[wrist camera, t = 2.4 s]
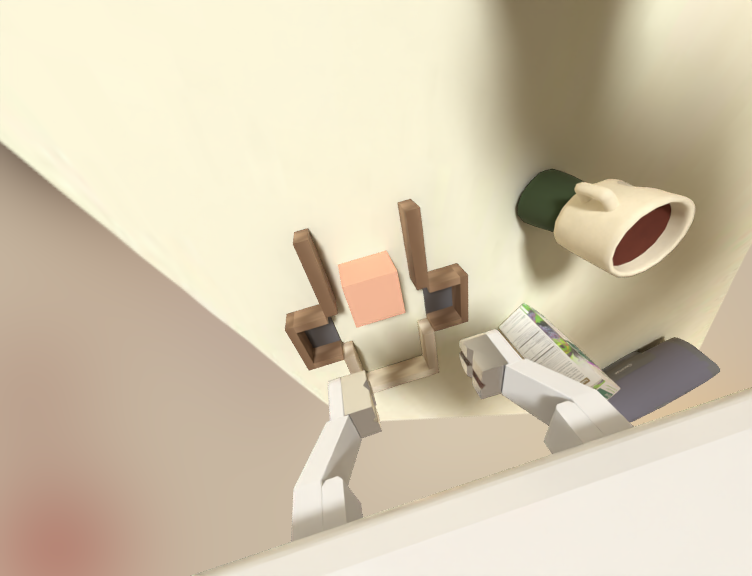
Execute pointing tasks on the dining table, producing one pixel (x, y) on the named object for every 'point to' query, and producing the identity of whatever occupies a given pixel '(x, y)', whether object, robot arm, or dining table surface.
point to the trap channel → (443, 310)
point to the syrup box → (553, 350)
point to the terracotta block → (371, 288)
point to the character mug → (608, 220)
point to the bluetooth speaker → (657, 377)
